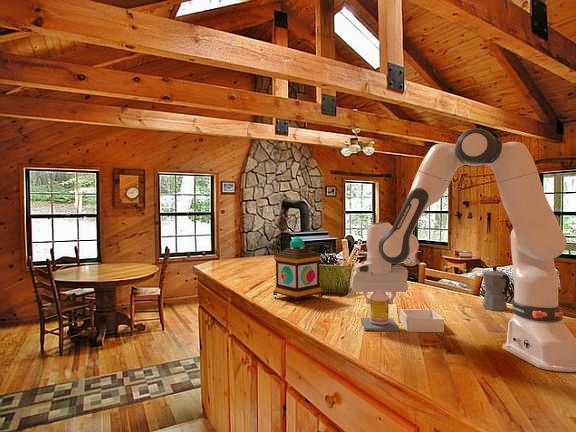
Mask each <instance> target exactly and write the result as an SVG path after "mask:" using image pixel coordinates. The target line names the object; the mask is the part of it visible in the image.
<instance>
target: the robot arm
mask: <svg viewBox="0 0 576 432" xmlns="http://www.w3.org/2000/svg"><path fill="white" fill-rule="evenodd" d="M484 165H486V166H488V167H489V168H490V169H491V171H492V173H493V176H494V179H495V183H496V186H497V189H498V193H499V195H500V199H501V202H502V205H503V206H502V207H503V208H504V210H505V211H506V212H505V213H506V214H507V217H508V218H509V221H510V223H511V225H512V230H511V232H510V249H511V260H512V269H513V285H514V286H513V293H514V294H513V300H512V305H511V308H512V309H511V310H512V313H513V315H512V317H511V319H510V320H509V321H508V323H507V324H508V325H507V333H506V343H503V344H502V349H503V350H505V351H506V352H509V353H510V354H512V355H514V356H516V357H518V358H520V359H521V360H523V361H526V362H527V363H529V364H531V365H533V366H535V367H536V368H539V369H543V370H547V371H556V372H569V373H570V372H571V373H574V372H576V337H575V336H574V335H573V333H572V332H571V331H570V330H569V328H568V327H567V325H566V324H565V322H564V321H563V319H564V318H563V317H565V315H563V314H565V312H563V311H562V310H561V306H560V305H559V277H558V275H557V270H556V265H555V260H554V259H555V258H557V257H559V256H561V255H562V254H563V253H564V252H565V250H566V248H567V238H566V235H565V233H564V232H563V230H562V228H561V225H560V224H559V221H558V219H557V217H556V215H555V213H554V211H553V208H552V207H551V205H550V203H549V201H548V198H547V195H546V194H545V190H544V188H543V184H542V181H541V178H540V174H539V172H538V168H537V166H536V163H535V160H534V159H533V157H532V155H531V153H530V151H529V149H528V148H527V146H526V145H525V144H524V143H522V142H521V141H520V142H519V141H508V142H504V143H502V141H501V140H499V139H498V138H497V137H496V136H494V134H492V133H491V132H489V131H488V130H486V129H484V128H479V127H478V128H470V129H468V130H465V131H464V132H462V133H461V135H459V137H458V139H457V140H456V143H454V144H448V143H444V142H441V143H436V144H434V145H432V146H431V147H430V149H429V150H428V151H427V153H426V155H425V156H424V157H423V160H422V161H421V163H420V166H418V167H419V168H418V170H417V172H416V174H415V176H414V179H413V181H412V184H411V188H410V190H409V192H408V195H407V197H406V200H405V202H404V204H403V205H402V207H401V210H400V211H399V214H398V216H397V218H396V219H395V222H394V224H393V225H392V223H390V222H388V221H382V222H377V223H372V224H370V225H369V226H368V228H367V231H366V249H367V255H366V260H365V261H362V262H359V263H355V264H354V271H353V273H352V276H351V284H350V287H351V290H352V291H353V293H362V295H363V296H364V298H365V303H366V304H367V305H370V304H371V302H370V301H371V299H370V297H368V296H367V295H368V293H374V292H376V289H384V291H385V293H390V294H391V296H390V297H389V305H393V304H394V299H395V297H396V296H397V293H406V292H407V291H408V290H409V285H408V277H409V270H408V269H407V267H405V266H403V265H401V266H399V265H398V264H401V263H403V262H404V261H406V260H408V259H409V258H411V257H413V256H414V255H416V254H417V253H418V251H419V248H420V244H419V242H420V241H419V239H418V238H417V236H416V235H415V234H413V232H414V230H415V228H416V226H417V224H418V222H419V220H420V218H421V216H423V213H424V212H426V211H427V209H428V208H430V207H431V206H432V205H434V204H436V203H438V202H439V201H440V200H441V198H442V197H443V196H444V195H445V193H446V192H447V190H448V188H449V185H450V184H451V182H452V179H453V177H454V175H455V173H456V172H457V170H458V169H459V168H460V167H470V168H478V167H483V166H484ZM397 265H398V266H397Z"/></svg>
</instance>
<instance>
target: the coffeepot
mask: <svg viewBox="0 0 576 432" xmlns="http://www.w3.org/2000/svg"><path fill="white" fill-rule="evenodd" d="M497 268H498V266H492V270H486V271H482V278H483V284H484V285H483V286H484V288H485V293H484V297H483V302H482V308H483V309H484V308H485V309H484V310H488V311H491V310H492V312H505V311H507V310H508V307H507V305H508V304H507V300H506V296H505V295H507V293H508V291H509V287H510V283H511V279H510V277H509V275H508V274H507V273H505V272H502V271H498V270H497Z"/></svg>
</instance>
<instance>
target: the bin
mask: <svg viewBox="0 0 576 432" xmlns="http://www.w3.org/2000/svg"><path fill="white" fill-rule="evenodd" d="M399 321H400V323H401V325H402V326H403V327H404V328H405V330H406V331H407V332H409V333H417V332H418V333H444V332H445V319H444V317H442V316H441V315H440V314H439V313H438V312H436V311H435V310H434V309H425V308H424V309H421V308H420V309H418V308H417V309H415V308H414V309H413V308H412V309H409V308H408V309H407V308H406V309H403V308H402V309H399Z"/></svg>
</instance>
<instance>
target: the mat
mask: <svg viewBox="0 0 576 432" xmlns="http://www.w3.org/2000/svg"><path fill="white" fill-rule="evenodd" d="M360 322H361V324H363V325H362V327H363V326H364V327H363V330H364V329H365V330H378V331H377V332H401V331H400V329H401V328H400V327H399V326H398V324H397V323H396V322H395V320H394V318H392V317H388V323H387V324H384V325H378V324H374V323H372V322H371V321H370V317H361V318H360ZM365 330H364V331H365Z"/></svg>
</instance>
